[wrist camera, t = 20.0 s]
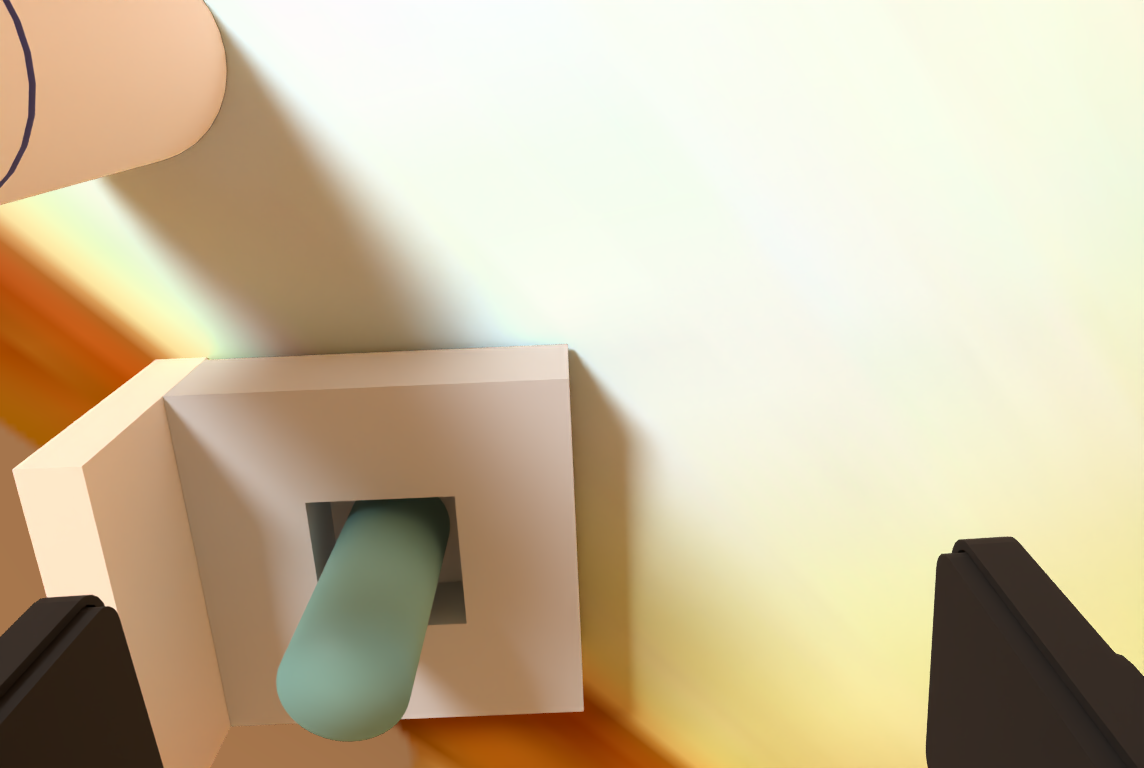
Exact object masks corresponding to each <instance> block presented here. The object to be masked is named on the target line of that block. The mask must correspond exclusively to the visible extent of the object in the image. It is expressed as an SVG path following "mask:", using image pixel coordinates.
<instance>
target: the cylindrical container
mask: <svg viewBox="0 0 1144 768" xmlns="http://www.w3.org/2000/svg"><path fill="white" fill-rule="evenodd" d="M226 76H227V67H226V56H225V50H224V46H223V42H222V38H221V35H220V31H219V29H218V27H217V25H216V23H215V20H214V18H213V16H212V14H211V12H210V10H209V9H208V7H207V6H206V4H205V3H204V1H203V0H0V205H2V204H6V203H10V202H13V201H17V200H20V199H24V198H28V197H31V196H35V195H39V194H42V193H46V192H49V191H53V190H57V189H60V188H64V187H68V186H71V185H75V184H78V183H82V182H86V181H89V180H93V179H97V178H100V177H104V176H108V175H111V174H115V173H119V172H122V171H126V170H130V169H133V168H137V167H140V166H144V165H148V164H151V163H155V162H159V161H162V160H165V159H168V158H170V157H173V156H176V155H178V154H181V153H182V152H184V151H185V150H187V149H188V148H190V147H191V146H193V145H194V144H196V143H197V142H198V140H199V139H200V138H201V137H202V136H203V135H204V134H205V133H206V132H207V131H208V130H209V128H210V127H211V125H212V123H213V121H214V120H215V118H216V116H217V114H218V113H219V110H220V107H221V104H222V100H223V97H224V94H225V87H226Z"/></svg>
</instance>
